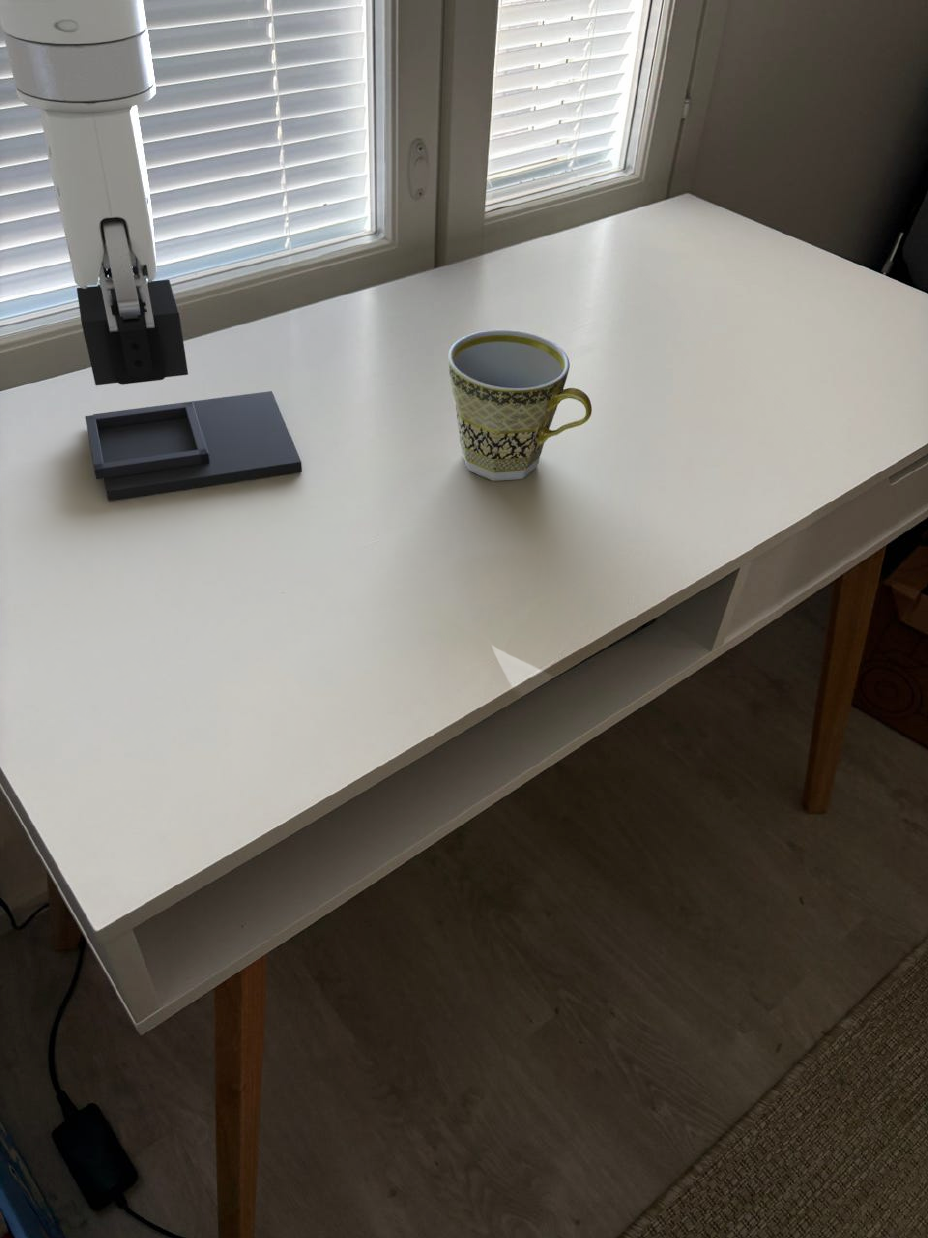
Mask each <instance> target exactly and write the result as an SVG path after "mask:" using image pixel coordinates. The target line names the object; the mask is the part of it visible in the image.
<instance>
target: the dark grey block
mask: <svg viewBox="0 0 928 1238" xmlns="http://www.w3.org/2000/svg"><path fill="white" fill-rule="evenodd" d="M147 286H148V292H149V297H150V303H151V309H152V314H153V320H157V323H158V328H159V334H160V340H161V347H162V353H163V359H164V365H165V371H166V377H165V378H172V377H180V376H188V375H189V371H188V363H187V357H186V351H185V350H186V349H185V343H184V337H183V329H182V322H181V316H180V311H179V308H178V304H177V301H176V298H175V294H174V290H173V287H172V284H171V281H170V279H161V280H153V281H151V282H150V283H149V282H148V281H147ZM136 290H137V295H138V297H140V292H139V287H136ZM76 293H77V300H78V301H77V302H78V308H79V314H80V315H79V316H80V322H81V327H82V332H83V337H84V340H85V345H86V349H87V355H88V358H89V362H90V367H91V368H90V369H91V372H92V376H93V380H94V385H95V386H103V385H113V384H118V383H117V382H116V378H115V373H114V368H113V364H112V359H111V354H110V349H109V344H108V339H107V334H106V329H105V325H109V324H108V319H107V314H106V309H105V304H104V299H103V294H102V289H101V287H100V286H98V285H92V286H87V289H83V288H81V287H76ZM111 295H112V301H113V300H115V299H117V298H116V292H115V289H113V290H111ZM113 302H114V301H113ZM116 319H117V318H116Z"/></svg>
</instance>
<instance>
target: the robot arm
mask: <svg viewBox="0 0 928 1238" xmlns="http://www.w3.org/2000/svg"><path fill="white" fill-rule="evenodd" d="M146 20H147V19H146V13H145V7H144V0H0V25H1V29H2V35H3V39H4V42H5V48H6V51H7V56H8V60H9V64H10V69H11V73H12V78H13V82H14V86H15V91H16V96H17V98H18V99H19V100H20V102H22V103H24V104H25V105H27V106H30V107H32V108H36V109H39V111H40V117H41V124H42V125H41V126H42V131H43V136H44V142H45V147H46V154H47V158H48V163H49V167H50V168H49V169H50V173H51V178H52V182H53V187H54V191H55V196H56V202H57V205H58V209H59V214H60V219H61V224H62V228H63V232H64V233H63V234H64V237H65V242H66V246H67V247H66V248H67V251H68V255H69V260H70V265H71V269H72V274H73V279H74V283H75V284H76V285H77V286H78V287H79V288H83V289H87V287H88V286H100V287H101V289H102V294H103V299H104V304H105V309H106V314H107V319H108V324H109V325H105V329H106V334H107V339H108V344H109V349H110V354H111V359H112V364H113V368H114V373H115V378H116V382H117V383H116V384H119V385H121V386H124V385H129V384H130V385H131V384H139V383H140V384H141V383H147V382H156V381H157V382H158V381H162V380H163V381H164V379H166V378H167V377H166V371H165V365H164V359H163V353H162V347H161V340H160V334H159V328H158V323H157V320H153V314H152V309H151V303H150V297H149V292H148V286H147V282H149V283H150V282H151V281H155V279H156V277H157V276H158V270H157V257H156V246H155V233H154V231H155V230H154V221H153V213H152V204H151V197H150V196H151V195H150V187H149V180H148V173H147V165H146V159H145V152H144V151H145V150H144V143H143V138H142V131H141V125H140V119H139V111H138V106H141V105H142V104H145V103H147V102H148V101H150V100H152V99H153V97H154V96H155V95H156V94H157V90H156V89H157V88H156V82H155V81H156V80H155V75H154V68H153V61H152V53H151V47H150V41H149V33H148V27H147V21H146ZM98 283H99V284H98ZM136 287H139V292H140V297H138V295H137V290H136ZM113 289H115V292H116V298H117V299H115V300H113V301H114V302H113V301H112V295H111V290H113ZM116 318H117V319H116Z"/></svg>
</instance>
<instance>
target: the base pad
mask: <svg viewBox="0 0 928 1238" xmlns="http://www.w3.org/2000/svg"><path fill="white" fill-rule="evenodd" d="M84 417H85V424H86V428H87V436H88V442H89V443H88V444H89V448H90V449H89V450H90V455H91V461H92V467H93V472H94V477H95V480H103V482H104V487H105V493H106V497H107V501H108V502H112V501H120V500H126V499H132V498H139V497H144V496H145V497H146V496H150V495H151V496H152V495H157V494H164V493H170V492H171V493H172V492H177V491H178V492H179V491H185V490H190V489H197V488H203V487H211V486H216V485H223V484H230V483H236V482H241V481H250V480H256V479H261V478H262V479H263V478H269V477H275V476H281V475H282V476H283V475H288V474H294V473H295V474H296V473H301V472H303V467H302V466H303V465H302V460H301V458H300V456H299V453H298V451H297V448H296V445H295V444H294V441H293V439H292V435H291V434H290V431H289V429H288V426H287V424H286V422H285V419H284V417H283V414H282V412H281V409H280V407H279V405H278V402H277V400H276V398H275V395H274V393H273V391H272V390H269V391H268V390H267V391H261V392H253V393H246V394H239V395H231V396H223V397H222V396H221V397H215V398H208V399H201V400H192V401H184V402H178V403H177V402H176V403H169V404H162V405H154V406H146V407H139V408H132V409H123V410H116V411H107V412H100V413H93V414H91V415H90V414H89V415H85V416H84Z"/></svg>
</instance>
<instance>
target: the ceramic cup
mask: <svg viewBox="0 0 928 1238" xmlns="http://www.w3.org/2000/svg"><path fill="white" fill-rule="evenodd" d="M447 362H448V371H449V379H450V380H449V381H450V387H451V392H452V396H453V400H454V404H455V412H456V420H457V427H458V434H459V435H458V436H459V444H460V451H461V455H462V457H463V460H464V463H465V466H466V469H467V470H468V471H469V472H472V473H474V474H476V475H479V476H480V477H483V478H485V479H488V480H490V481H493V482H495V481H512V480H514V481H515V480H523V479H524V478H525V477H526V476H528V475H529V474H530V473H531V472H532V471H534V470H535V469H536V468H537V466H538V465H539V462H540V458H541V455H542V451H543V448H544V446H545V442H547V440H549V438H551V437H554V436H555V437H556V436H558V435H560V433H562V432H564V431H566V430H569V429H573V428H576V427H579V426H581V425H584V424H585V423H586V422H587V421H588V420H589V419H591V416H592V411H593V409H592V403H591V400H590V398H589V396H588V395H587V393H585V392H584V391H583V390H581V389H579V388H576V387H567V388H565V385H566V382H567V378H568V375H569V371H570V366H571V365H570V359H569V357H568V355H567V353H566V352H565V351H564V349H562V348H561V347H560V346H559V345H558V344H557V343H555V342H553V341H552V340H550V339H547V338H545V337H543V336H540V335H537V334H534V333H531V332H527V331H521V330H514V329H490V330H482V331H477V332H473V333H470V334H468V335H466V336H463V337H461V338H460V339H458V340H457V341H456V342H454V343H453V344H452V346H451V347H450V349H449V351H448V355H447ZM568 399H573V400H576V401H578V402H580V403H581V405H582V406H584V409H585V415H584V417H582V418H581V419H578V420H575V421H572V422H568V423H566V424H563V425H561V426H560V427H558V428H557V429H551V425H552V422H553V419H554V417H555V414H556V411H557V408H558V405H559V404H560V403H561V402H562V401H563V400H568Z"/></svg>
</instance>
